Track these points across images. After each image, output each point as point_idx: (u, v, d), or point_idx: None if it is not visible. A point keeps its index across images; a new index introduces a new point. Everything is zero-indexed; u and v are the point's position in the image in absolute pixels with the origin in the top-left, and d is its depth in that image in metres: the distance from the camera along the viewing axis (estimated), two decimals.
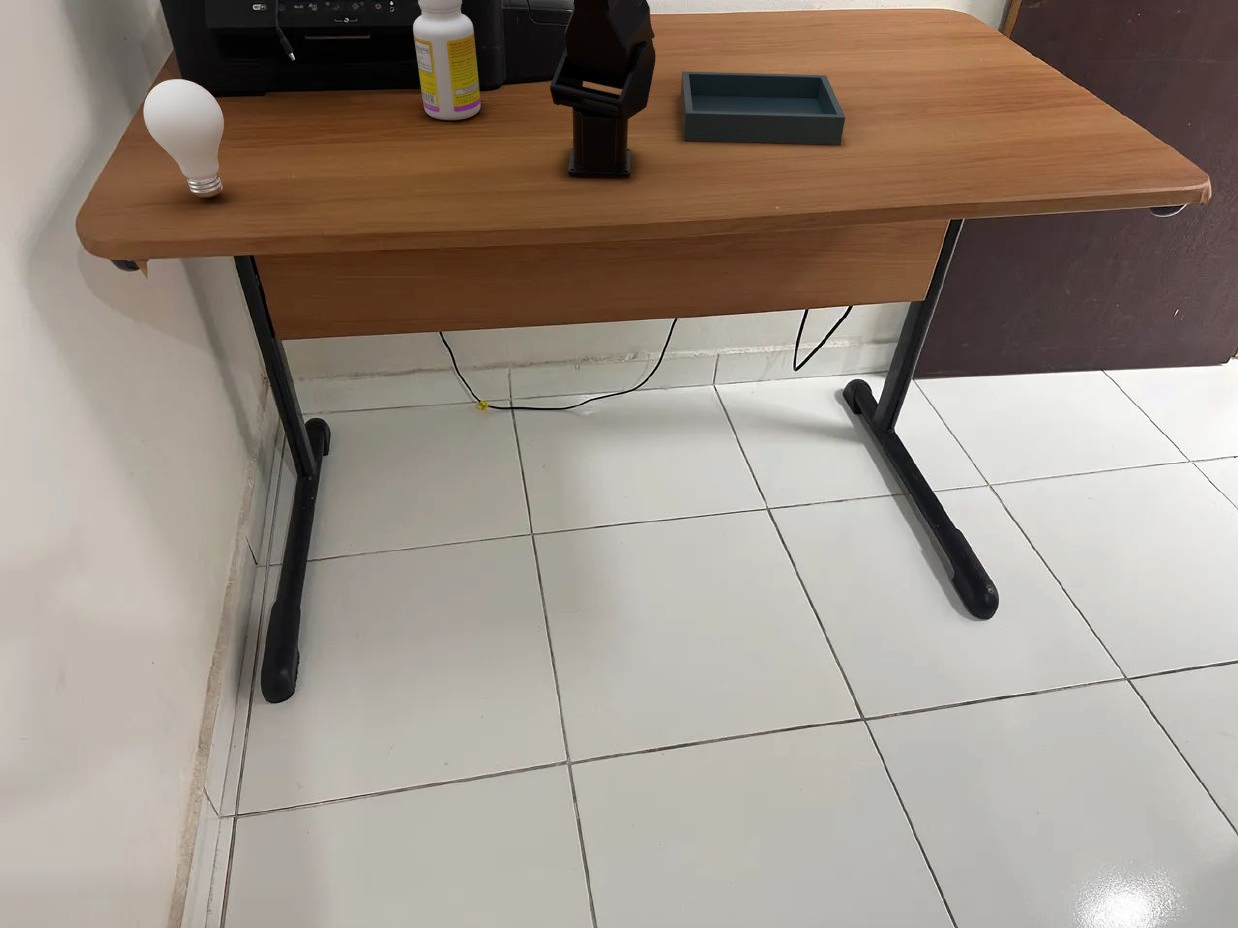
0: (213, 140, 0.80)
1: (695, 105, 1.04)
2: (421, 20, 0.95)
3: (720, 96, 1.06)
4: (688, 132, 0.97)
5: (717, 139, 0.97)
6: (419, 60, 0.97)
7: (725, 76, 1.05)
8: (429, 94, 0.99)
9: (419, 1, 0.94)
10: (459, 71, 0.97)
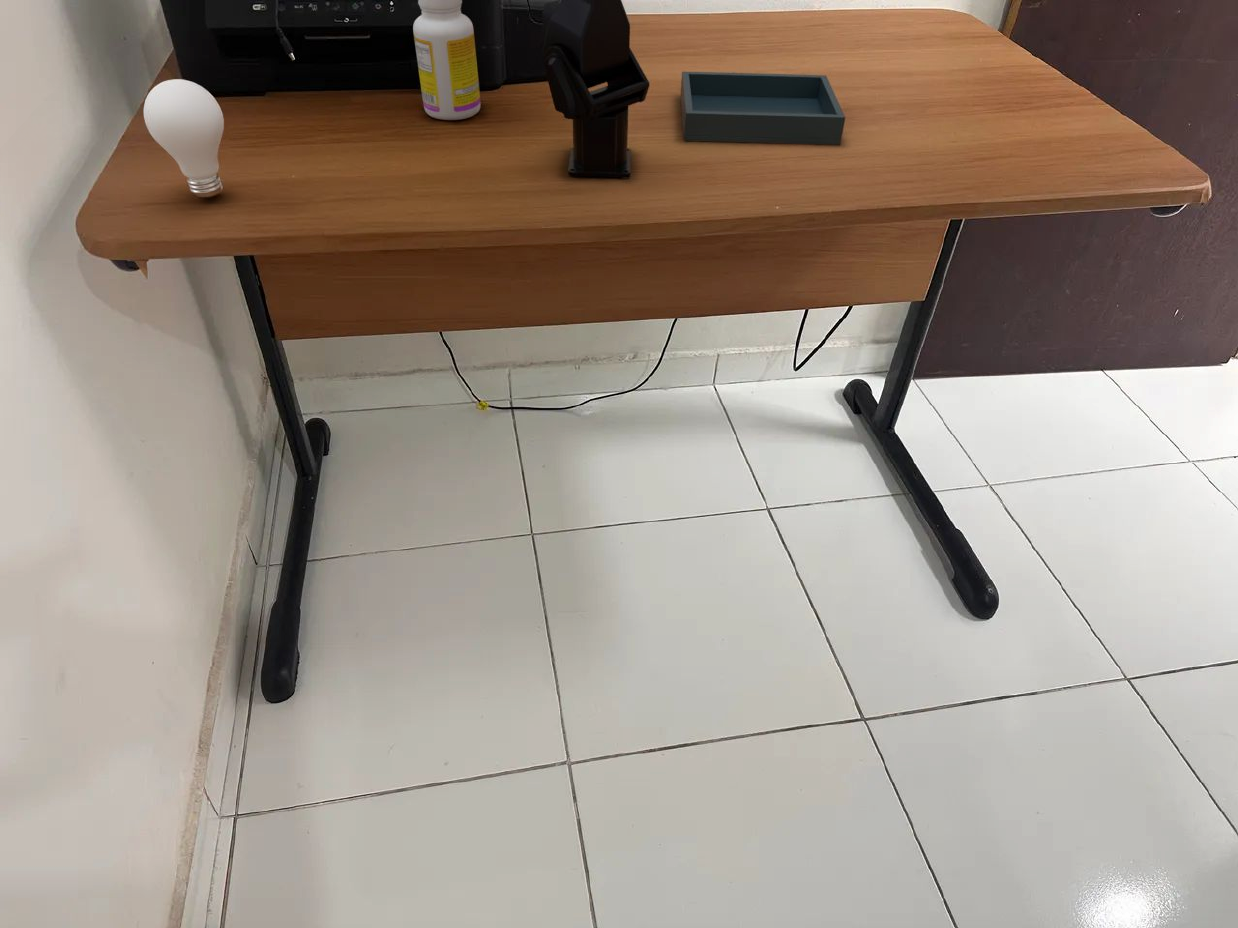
0: (213, 140, 0.80)
1: (695, 105, 1.04)
2: (421, 20, 0.95)
3: (720, 96, 1.06)
4: (688, 132, 0.97)
5: (717, 139, 0.97)
6: (419, 60, 0.97)
7: (725, 76, 1.05)
8: (429, 94, 0.99)
9: (419, 1, 0.94)
10: (459, 71, 0.97)
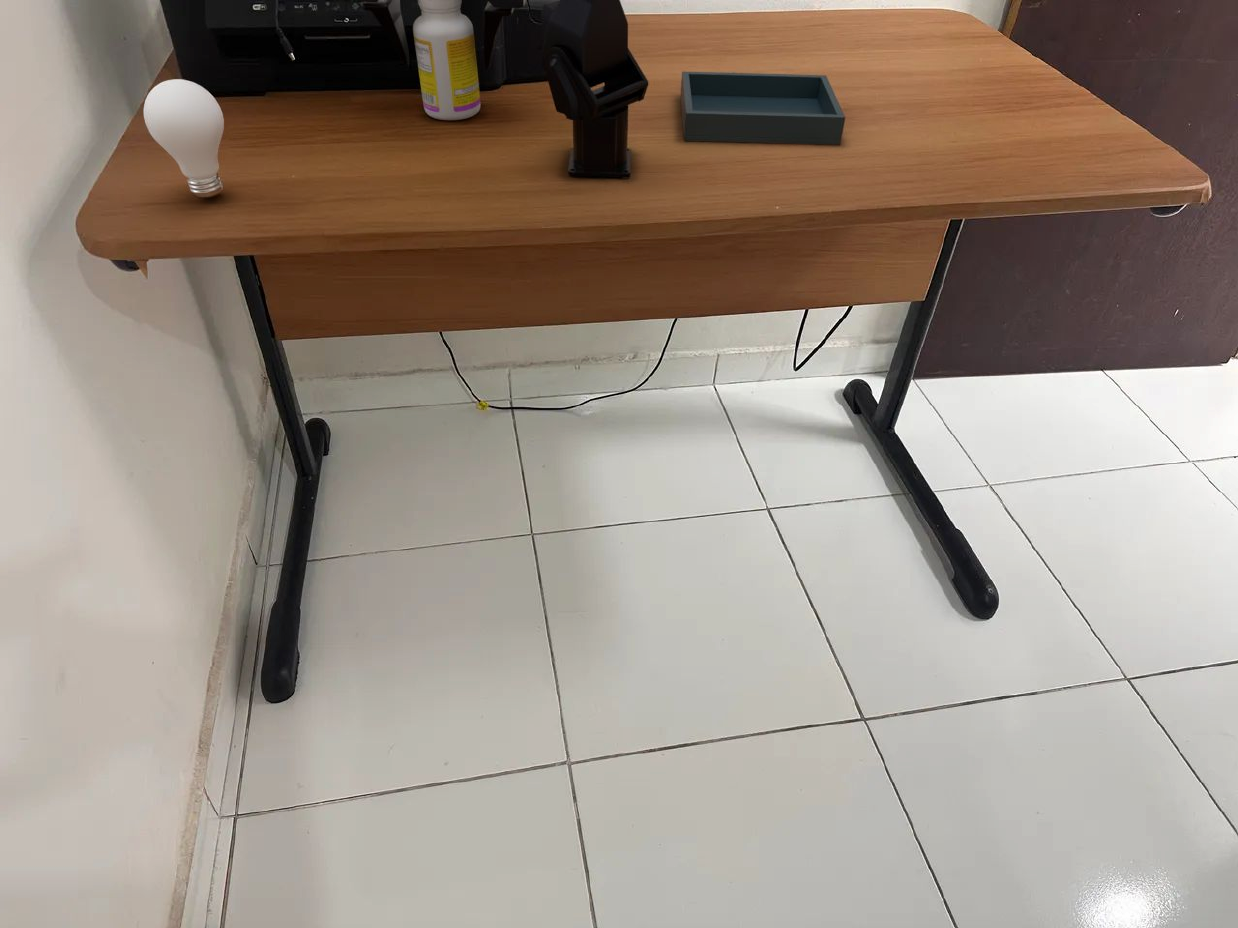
0: (213, 140, 0.80)
1: (695, 105, 1.04)
2: (421, 20, 0.95)
3: (720, 96, 1.06)
4: (688, 132, 0.97)
5: (717, 139, 0.97)
6: (419, 60, 0.97)
7: (725, 76, 1.05)
8: (429, 94, 0.99)
9: (419, 1, 0.94)
10: (459, 71, 0.97)
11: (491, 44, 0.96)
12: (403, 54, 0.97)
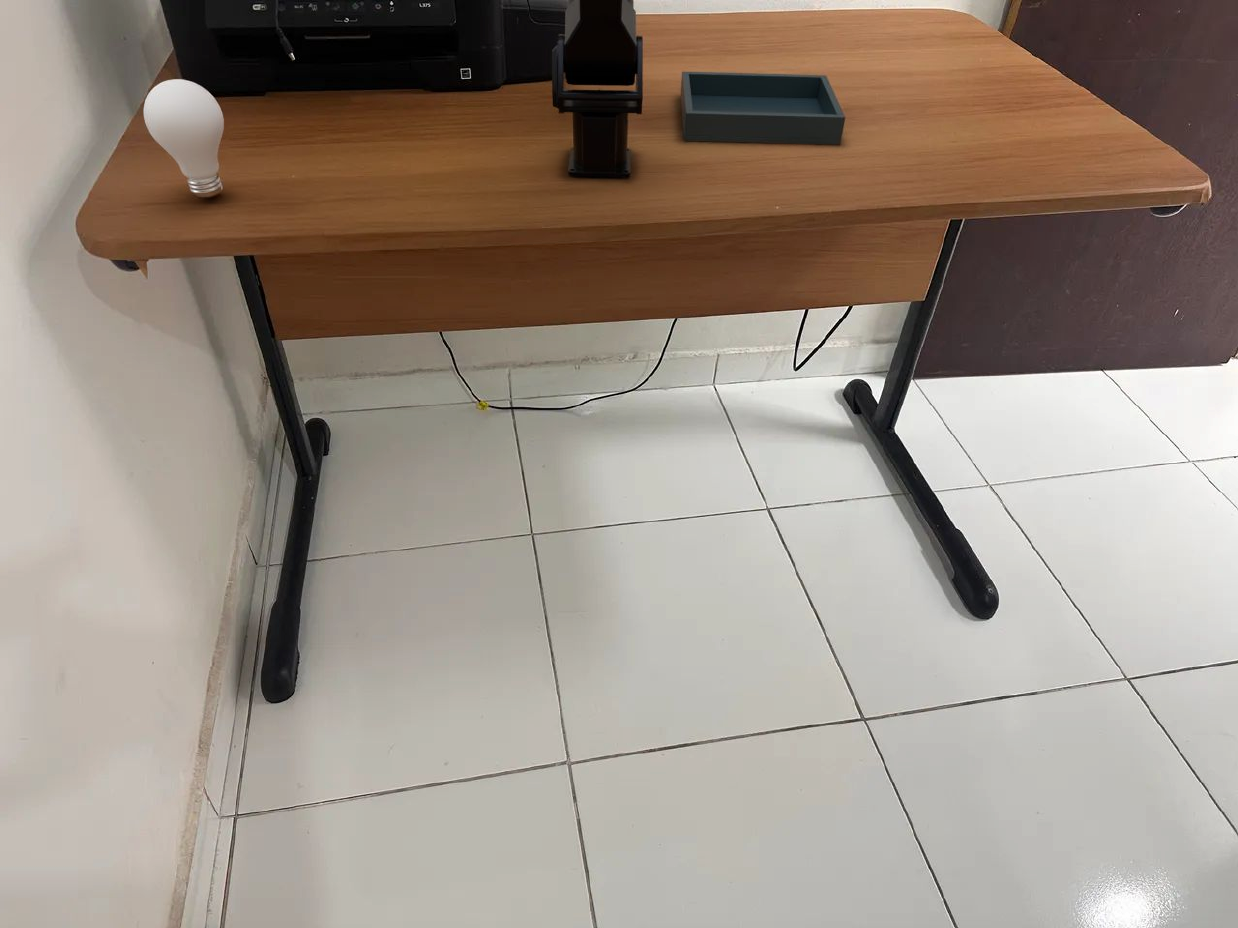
0: (213, 140, 0.80)
1: (695, 105, 1.04)
2: None
3: (720, 96, 1.06)
4: (688, 132, 0.97)
5: (717, 139, 0.97)
6: None
7: (725, 76, 1.05)
8: None
9: None
10: None
11: None
12: None
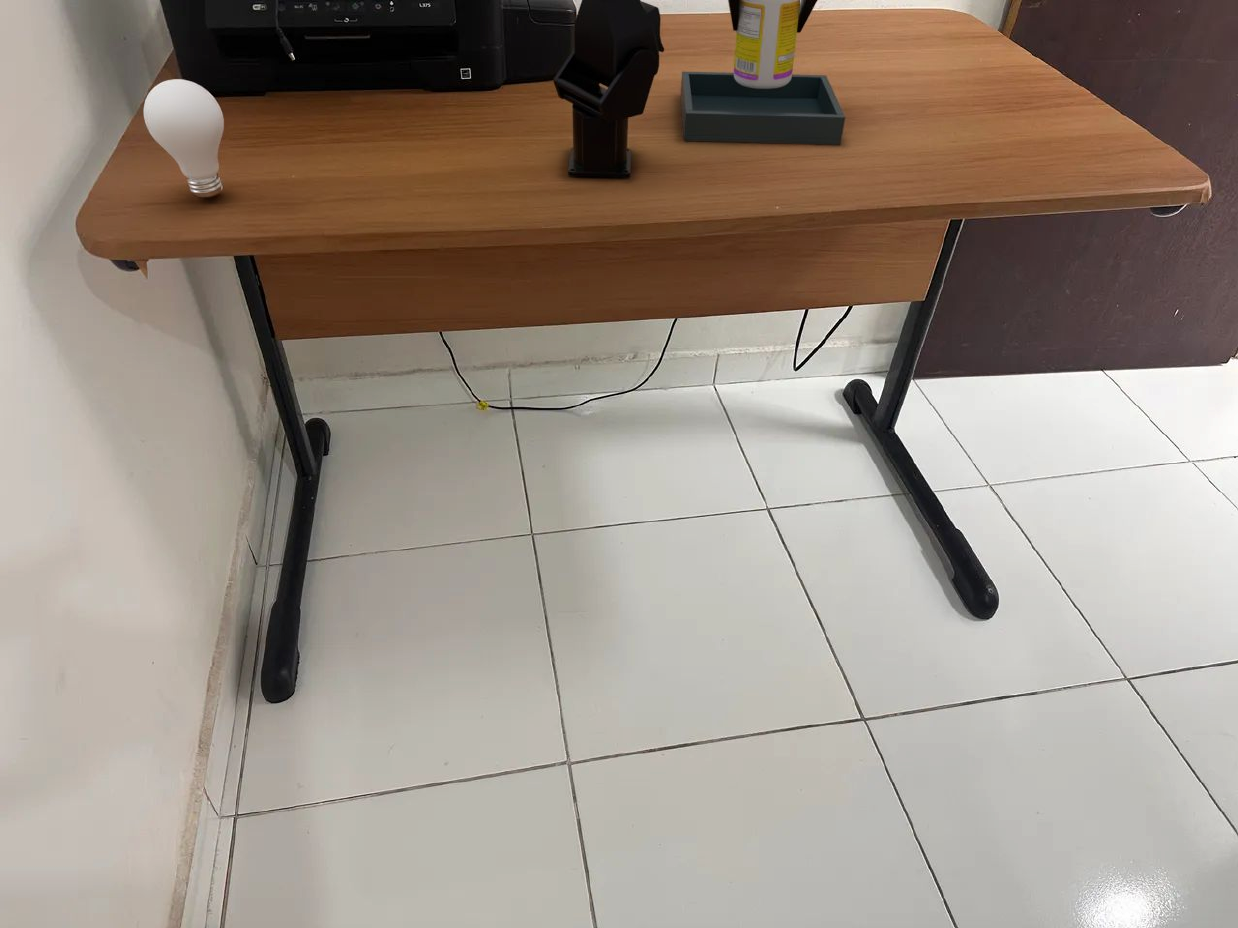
0: (213, 140, 0.80)
1: (695, 105, 1.04)
2: None
3: (720, 96, 1.06)
4: (688, 132, 0.97)
5: (717, 139, 0.97)
6: (743, 26, 0.94)
7: (725, 76, 1.05)
8: (750, 61, 0.95)
9: None
10: (786, 36, 0.94)
11: (813, 5, 0.92)
12: (737, 17, 0.94)
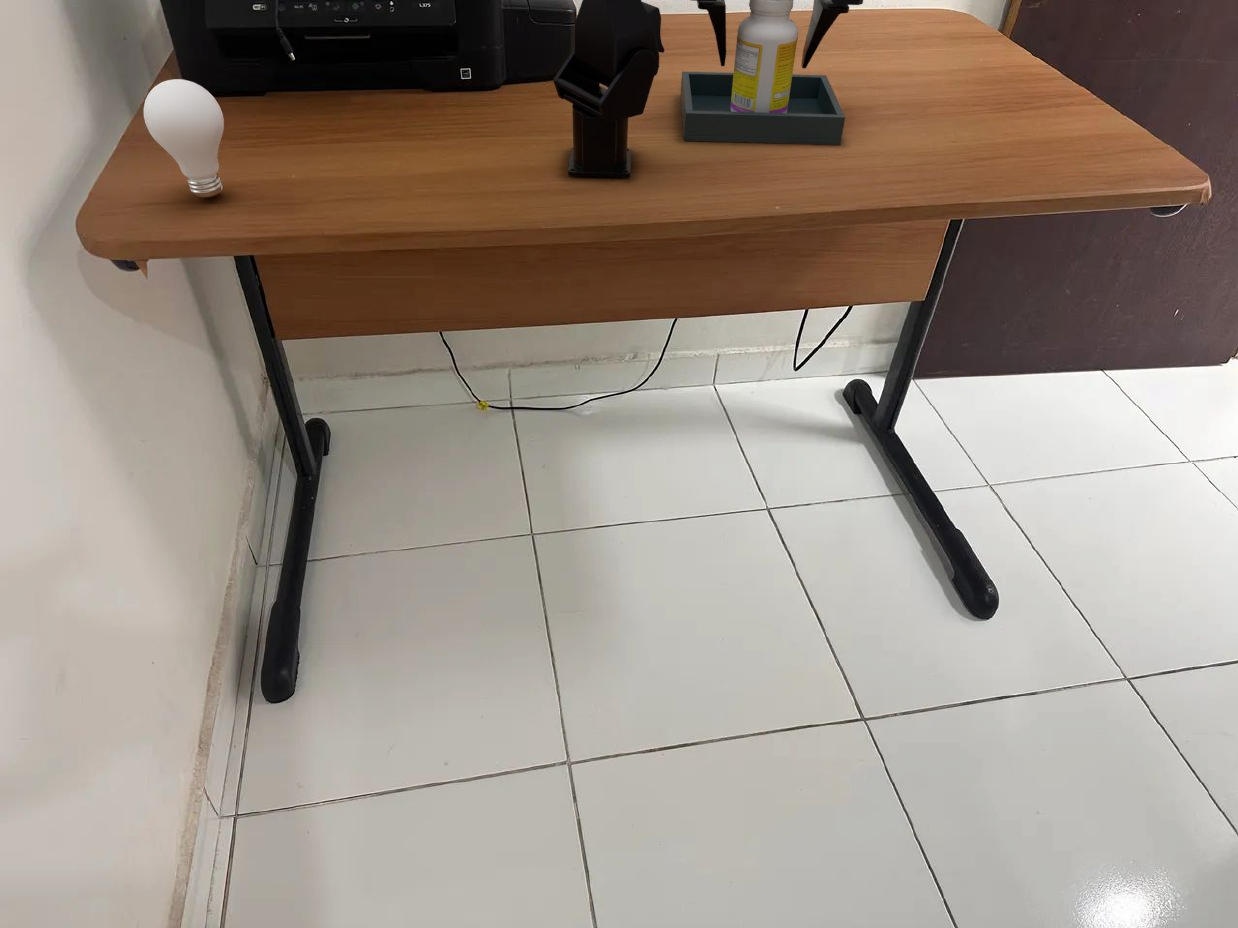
0: (213, 140, 0.80)
1: (695, 105, 1.04)
2: (752, 23, 0.94)
3: (720, 96, 1.06)
4: (688, 132, 0.97)
5: (717, 139, 0.97)
6: (741, 63, 0.96)
7: (725, 76, 1.05)
8: (746, 97, 0.98)
9: (753, 4, 0.93)
10: (782, 74, 0.96)
11: (818, 42, 0.95)
12: (724, 54, 0.97)
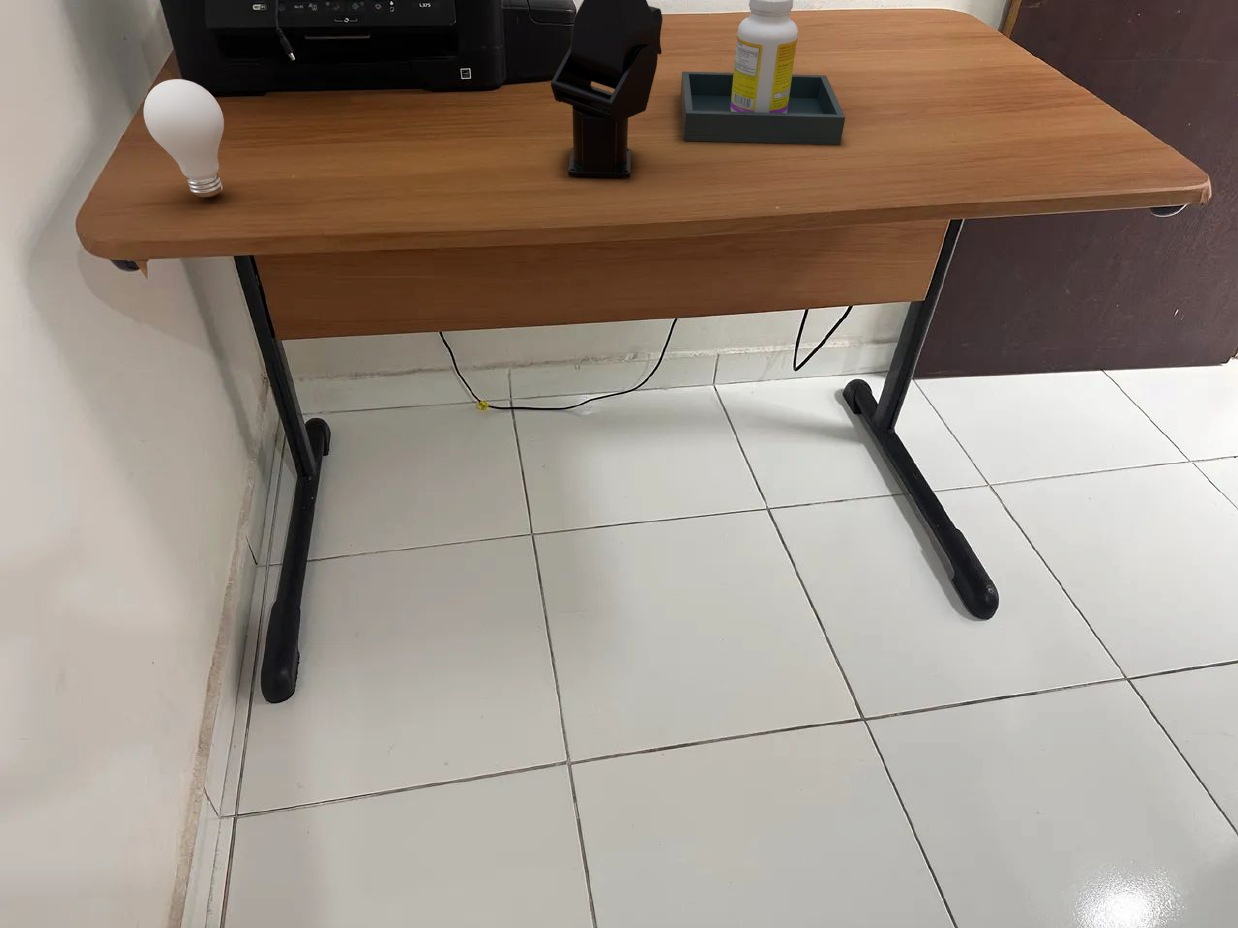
0: (213, 140, 0.80)
1: (695, 105, 1.04)
2: (752, 23, 0.94)
3: (720, 96, 1.06)
4: (688, 132, 0.97)
5: (717, 139, 0.97)
6: (741, 63, 0.96)
7: (725, 76, 1.05)
8: (746, 97, 0.98)
9: (753, 4, 0.93)
10: (782, 74, 0.96)
11: None
12: None
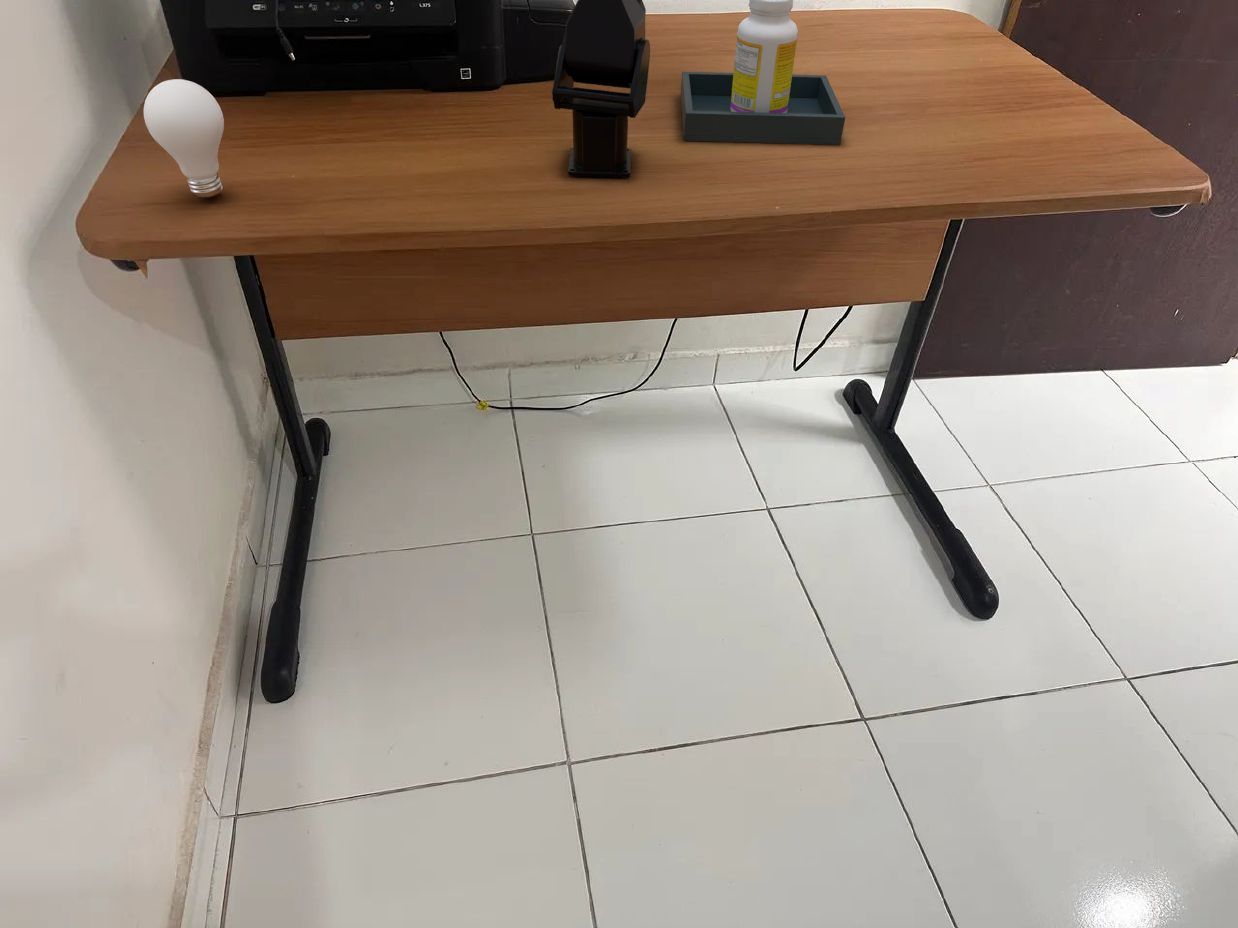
0: (213, 140, 0.80)
1: (695, 105, 1.04)
2: (752, 23, 0.94)
3: (720, 96, 1.06)
4: (688, 132, 0.97)
5: (717, 139, 0.97)
6: (741, 63, 0.96)
7: (725, 76, 1.05)
8: (746, 97, 0.98)
9: (753, 4, 0.93)
10: (782, 74, 0.96)
11: None
12: None
